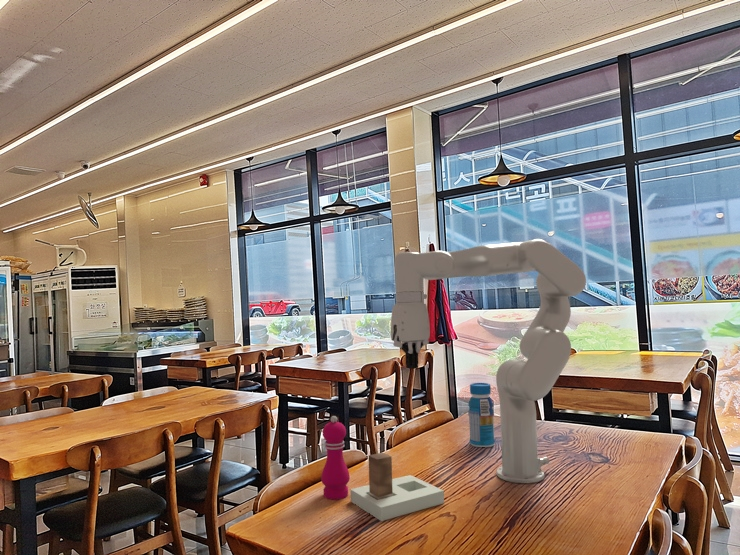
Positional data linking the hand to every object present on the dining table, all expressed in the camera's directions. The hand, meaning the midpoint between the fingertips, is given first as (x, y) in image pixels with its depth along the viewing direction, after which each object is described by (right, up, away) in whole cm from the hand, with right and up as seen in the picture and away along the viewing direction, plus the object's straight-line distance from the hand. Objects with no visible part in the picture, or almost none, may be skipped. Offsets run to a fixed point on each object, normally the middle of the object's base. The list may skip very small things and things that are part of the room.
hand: (412, 367), depth 142 cm
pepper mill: (-20, -32, -5) cm, 38 cm away
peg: (-8, -31, -14) cm, 35 cm away
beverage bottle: (+26, -32, +36) cm, 55 cm away
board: (-5, -31, -11) cm, 33 cm away
